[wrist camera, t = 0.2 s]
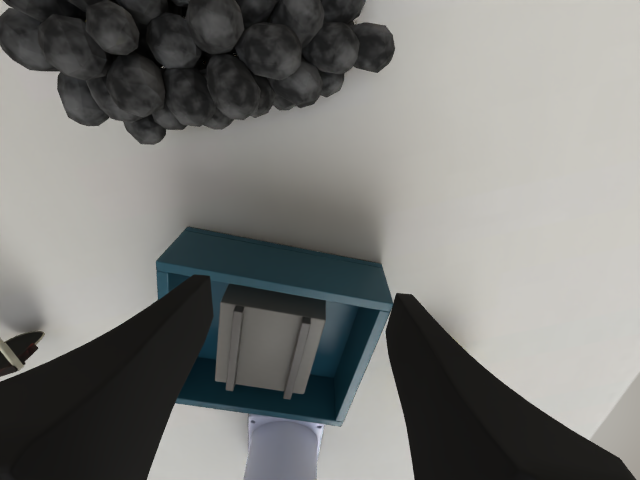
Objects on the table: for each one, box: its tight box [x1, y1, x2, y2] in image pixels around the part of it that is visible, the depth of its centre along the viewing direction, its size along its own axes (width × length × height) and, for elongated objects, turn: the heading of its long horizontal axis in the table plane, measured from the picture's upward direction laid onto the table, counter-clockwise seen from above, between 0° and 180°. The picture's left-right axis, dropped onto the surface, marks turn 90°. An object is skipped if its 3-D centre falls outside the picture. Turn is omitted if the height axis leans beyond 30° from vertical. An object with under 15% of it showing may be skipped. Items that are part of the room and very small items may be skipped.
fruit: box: [0, 0, 395, 145], centre depth 13 cm, size 9×8×15 cm
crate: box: [156, 227, 393, 427], centre depth 23 cm, size 13×14×5 cm
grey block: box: [215, 283, 326, 400], centre depth 23 cm, size 8×7×4 cm
